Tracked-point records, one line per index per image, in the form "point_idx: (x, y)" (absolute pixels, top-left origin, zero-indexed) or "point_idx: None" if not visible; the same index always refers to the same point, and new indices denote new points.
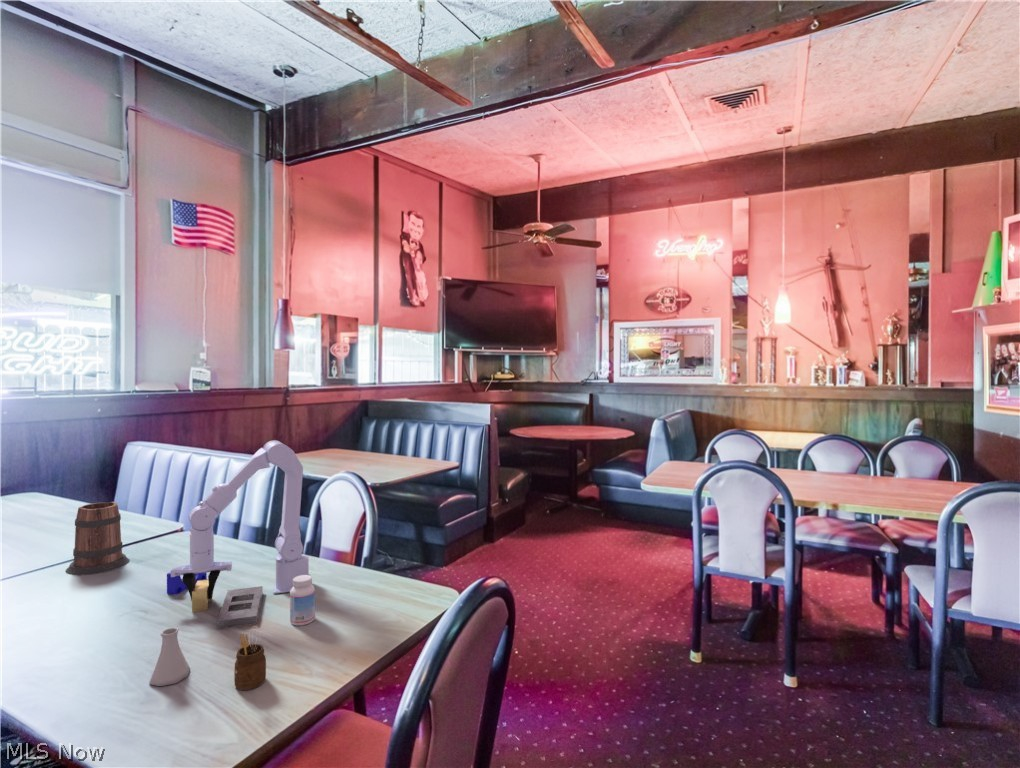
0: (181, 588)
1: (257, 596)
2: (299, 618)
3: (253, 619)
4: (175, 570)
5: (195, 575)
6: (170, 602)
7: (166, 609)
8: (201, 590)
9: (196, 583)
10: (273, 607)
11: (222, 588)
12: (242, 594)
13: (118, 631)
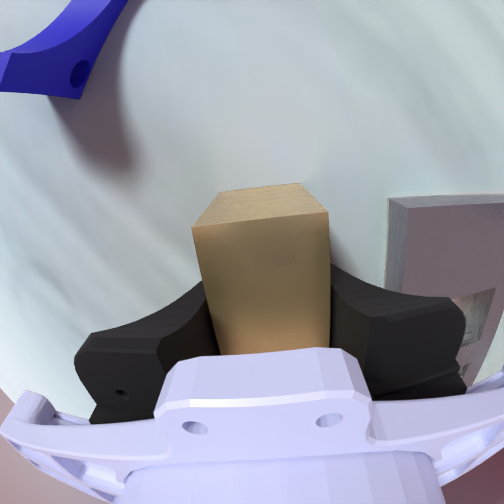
0: (85, 58)
1: (495, 315)
2: None
3: None
4: (63, 476)
5: (181, 346)
6: (91, 201)
7: (114, 283)
8: None
9: (209, 300)
10: (499, 328)
11: (320, 40)
12: (463, 287)
13: (84, 392)
